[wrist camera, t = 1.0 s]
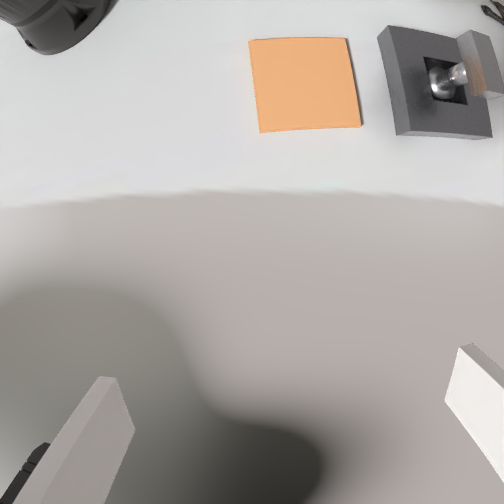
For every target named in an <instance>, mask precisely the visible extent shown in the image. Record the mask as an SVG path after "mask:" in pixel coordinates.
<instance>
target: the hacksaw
mask: <svg viewBox="0 0 504 504" xmlns="http://www.w3.org/2000/svg"><path fill="white" fill-rule="evenodd" d="M491 1H492V0H491ZM492 2H493V3H494V4H495V5H496V7H497V9H498V10H499V11H500V13H501V15H502V17H503V19H502V18H501V17H499V16H498V15H497V14H495V13H494V12H493V11H492V10H491V9H490V8H489V7H487V6H486V5H484V6H483V5H482V6H481V7H482V9H483V11H484V13H485V14H486V15H489V16H490V17H492V18H494V19H495V20H497V21H498V22H500V23H501V24H503V25H504V12H503V10H504V6H503V5H501V4H500V3H499V2H495V1H492Z"/></svg>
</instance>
